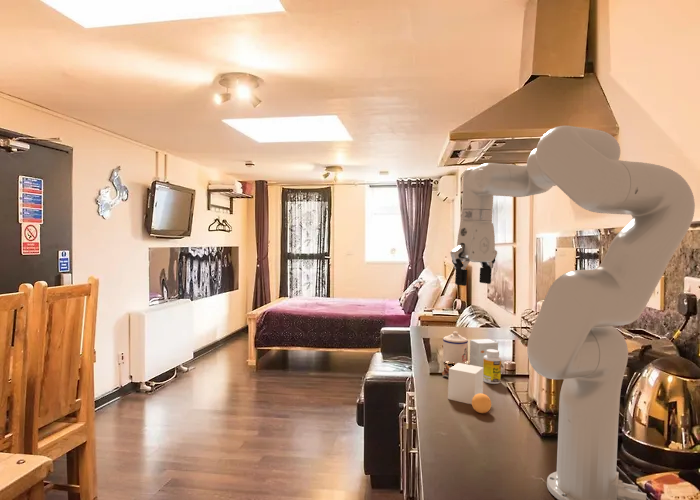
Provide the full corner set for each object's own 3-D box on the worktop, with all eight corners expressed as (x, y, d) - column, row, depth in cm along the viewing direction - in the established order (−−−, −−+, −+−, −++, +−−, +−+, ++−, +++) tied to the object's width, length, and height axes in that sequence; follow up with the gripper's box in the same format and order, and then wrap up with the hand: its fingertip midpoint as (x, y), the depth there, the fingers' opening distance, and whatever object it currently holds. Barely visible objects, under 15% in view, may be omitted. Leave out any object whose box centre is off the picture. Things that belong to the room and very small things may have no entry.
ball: (493, 411, 119) (493, 393, 119) (487, 417, 115) (488, 398, 114) (474, 407, 122) (475, 389, 121) (468, 413, 117) (469, 394, 117)
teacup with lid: (467, 367, 160) (468, 335, 160) (442, 365, 162) (443, 333, 161) (466, 358, 172) (467, 328, 171) (442, 356, 173) (443, 327, 173)
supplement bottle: (492, 385, 140) (494, 353, 140) (479, 380, 145) (480, 349, 145) (504, 382, 143) (505, 351, 143) (490, 378, 148) (491, 347, 148)
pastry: (459, 370, 157) (460, 360, 157) (464, 381, 146) (464, 370, 145) (439, 369, 158) (440, 359, 158) (443, 380, 146) (443, 369, 146)
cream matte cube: (482, 397, 130) (483, 367, 129) (474, 405, 123) (475, 373, 123) (457, 391, 134) (458, 362, 134) (447, 398, 127) (448, 368, 127)
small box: (488, 367, 160) (489, 338, 160) (497, 372, 155) (498, 342, 155) (468, 368, 158) (469, 339, 158) (477, 373, 153) (478, 343, 153)
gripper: (466, 215, 104) (462, 288, 105) (509, 218, 114) (506, 284, 115) (442, 215, 110) (439, 284, 111) (485, 218, 120) (482, 280, 121)
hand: (473, 284), depth 113 cm, fingers open, 9 cm apart
